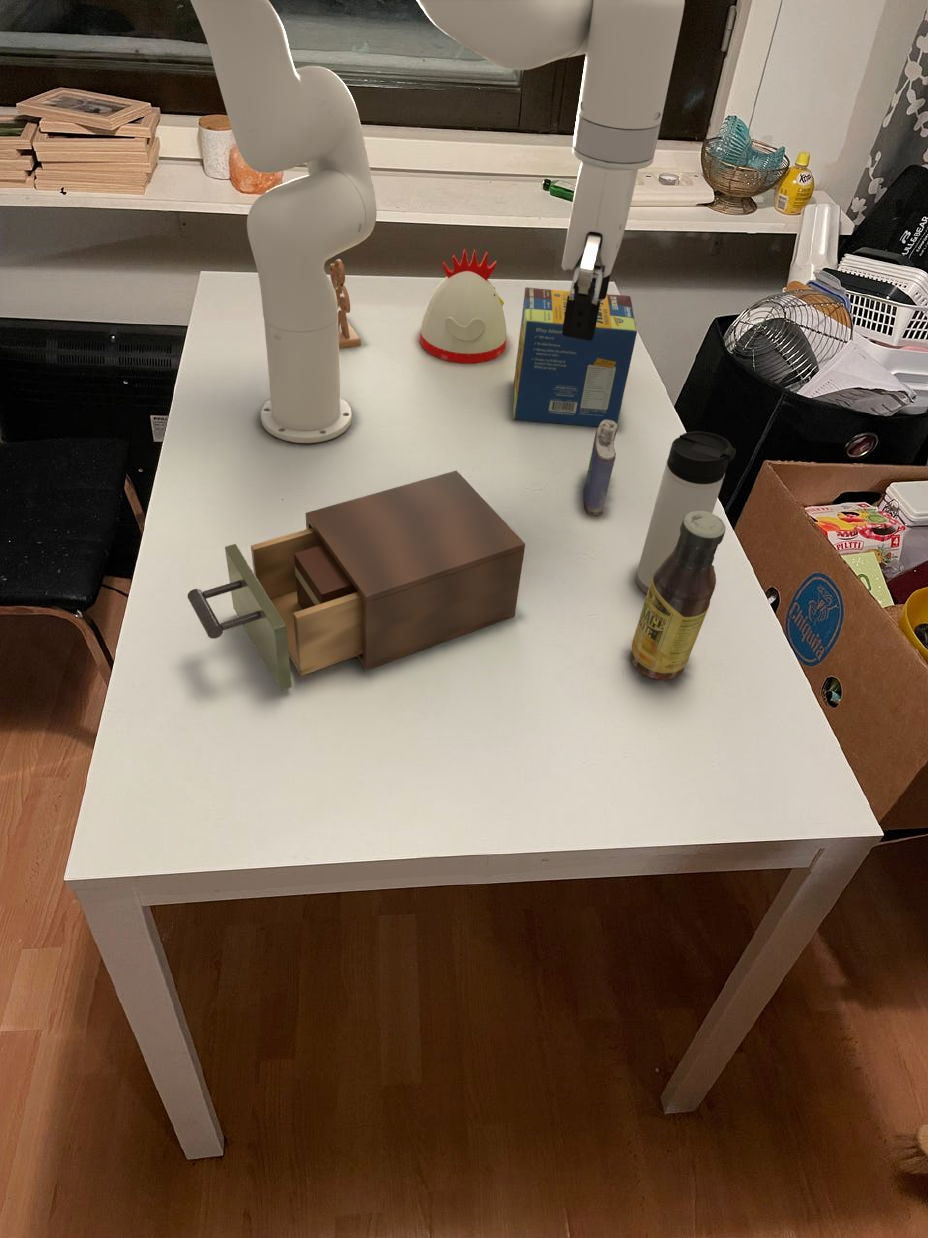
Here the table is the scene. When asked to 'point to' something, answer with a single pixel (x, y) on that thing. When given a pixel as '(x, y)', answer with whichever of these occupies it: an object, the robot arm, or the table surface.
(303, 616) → the drawer
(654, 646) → the sauce bottle
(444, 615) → the cabinet
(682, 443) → the travel mug
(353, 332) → the wooden sculpture
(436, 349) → the kitchen timer
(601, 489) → the flask
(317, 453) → the table surface
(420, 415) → the table surface
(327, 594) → the snack box
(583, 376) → the protein box
